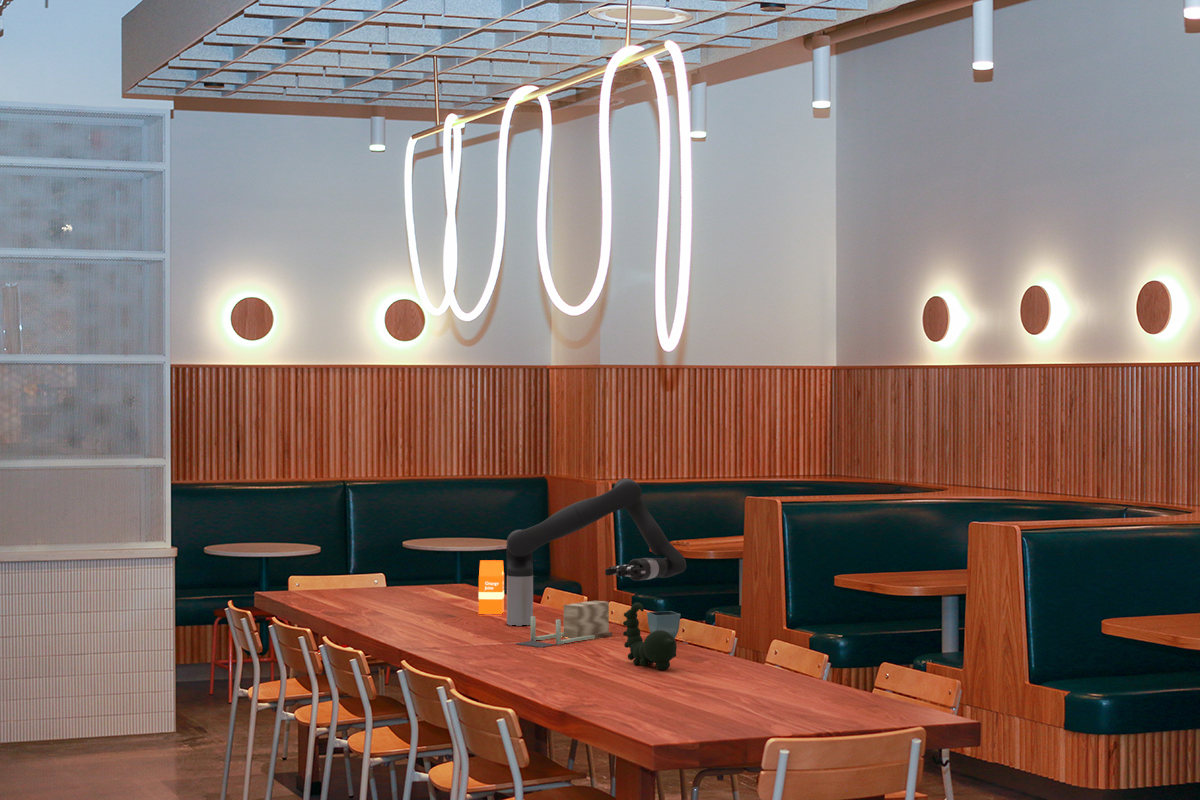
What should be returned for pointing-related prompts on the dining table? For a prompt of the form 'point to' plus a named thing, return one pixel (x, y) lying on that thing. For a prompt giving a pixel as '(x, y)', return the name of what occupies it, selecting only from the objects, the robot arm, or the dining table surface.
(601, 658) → the dining table surface
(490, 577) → the orange juice
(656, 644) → the toy figurine
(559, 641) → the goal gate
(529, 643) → the pit mat
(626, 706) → the dining table surface
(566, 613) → the beech block
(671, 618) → the flower pot
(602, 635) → the lane
